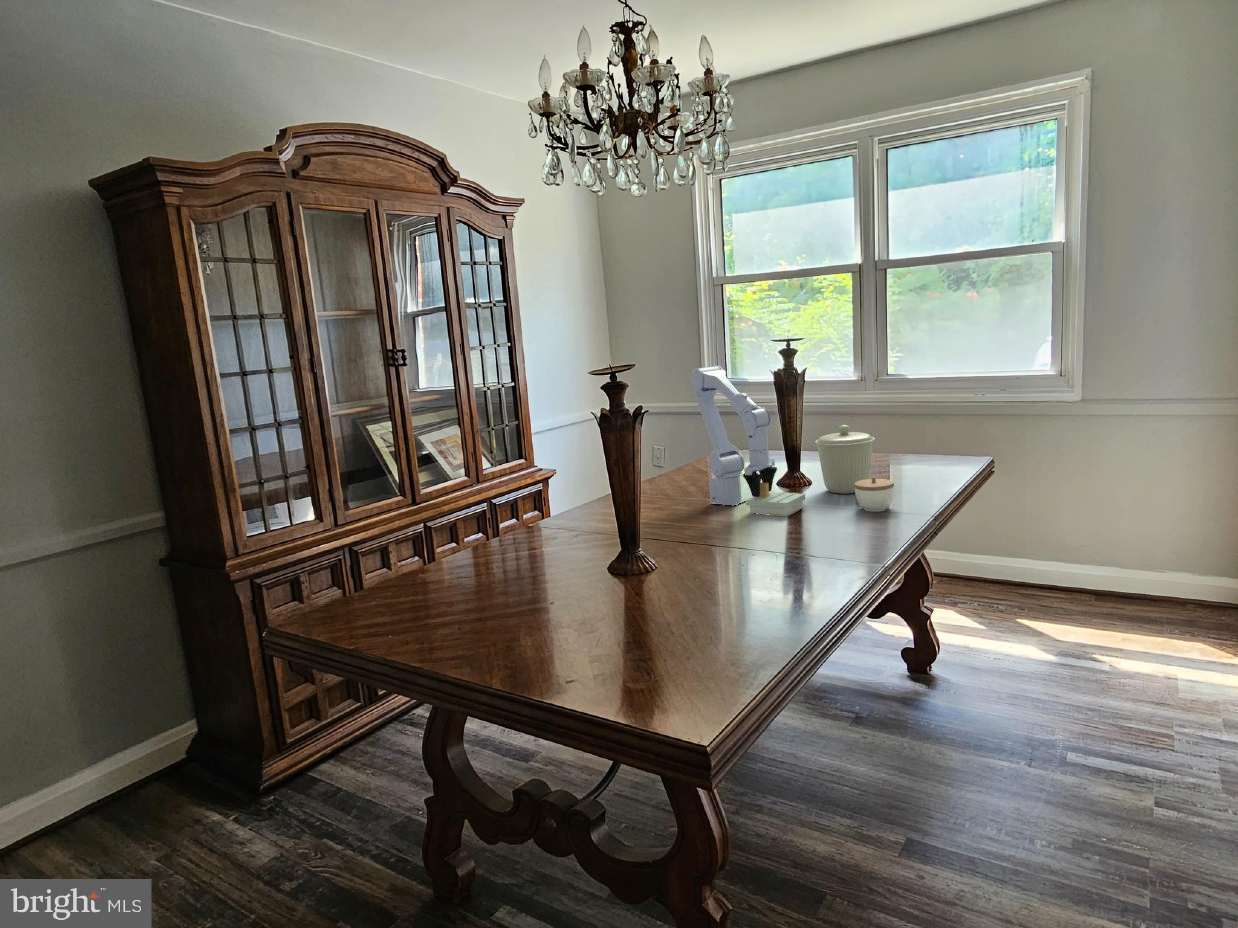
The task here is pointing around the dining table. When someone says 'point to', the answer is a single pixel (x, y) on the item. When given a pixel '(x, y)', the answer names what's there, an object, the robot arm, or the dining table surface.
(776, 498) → the lid
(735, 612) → the dining table surface
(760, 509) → the parts tub
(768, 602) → the dining table surface
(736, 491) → the robot arm
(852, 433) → the canister
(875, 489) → the lidded jar
